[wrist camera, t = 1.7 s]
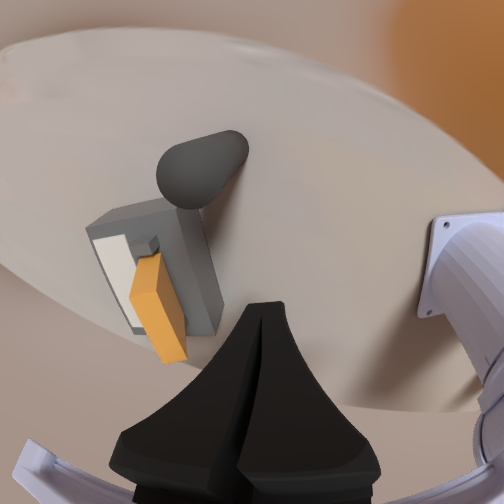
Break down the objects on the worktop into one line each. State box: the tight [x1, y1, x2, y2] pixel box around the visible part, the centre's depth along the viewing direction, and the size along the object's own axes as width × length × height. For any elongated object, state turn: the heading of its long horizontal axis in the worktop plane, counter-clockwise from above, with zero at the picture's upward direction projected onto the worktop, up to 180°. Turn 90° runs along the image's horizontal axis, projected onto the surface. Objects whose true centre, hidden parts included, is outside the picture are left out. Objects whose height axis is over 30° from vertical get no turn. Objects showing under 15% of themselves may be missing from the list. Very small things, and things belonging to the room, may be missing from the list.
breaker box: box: [85, 197, 224, 336], centre depth 15 cm, size 6×8×4 cm
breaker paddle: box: [129, 253, 188, 364], centre depth 12 cm, size 1×4×4 cm, turn 10°
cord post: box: [156, 130, 249, 210], centre depth 10 cm, size 2×2×7 cm
